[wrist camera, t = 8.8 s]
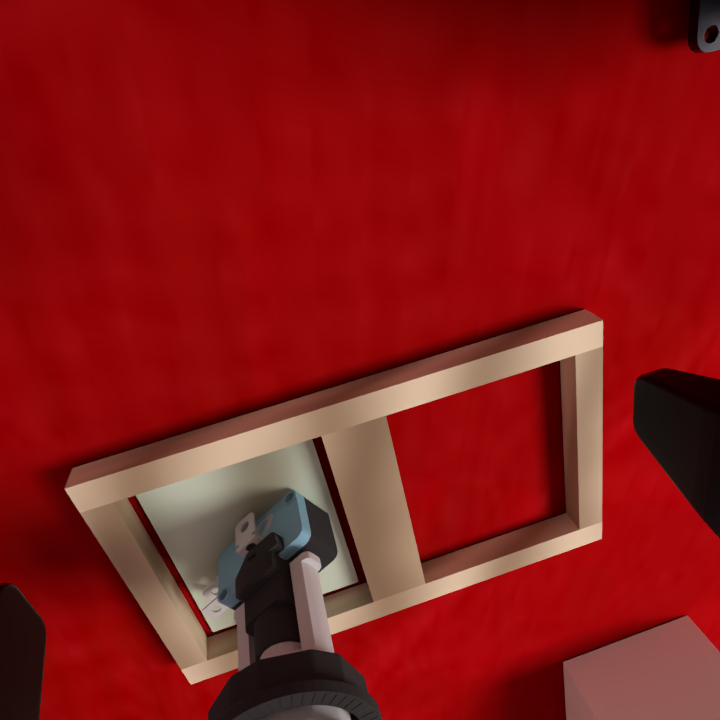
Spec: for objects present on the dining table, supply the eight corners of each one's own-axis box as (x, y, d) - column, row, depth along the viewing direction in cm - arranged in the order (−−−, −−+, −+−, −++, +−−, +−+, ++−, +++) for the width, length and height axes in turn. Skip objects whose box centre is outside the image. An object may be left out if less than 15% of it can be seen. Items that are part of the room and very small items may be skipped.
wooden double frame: (585, 309, 22) (602, 320, 21) (587, 521, 28) (602, 538, 27) (72, 468, 20) (64, 488, 19) (191, 660, 26) (190, 684, 25)
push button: (251, 609, 26) (267, 880, 17) (157, 560, 23) (120, 850, 14) (354, 520, 25) (428, 761, 16) (268, 459, 22) (299, 705, 13)
